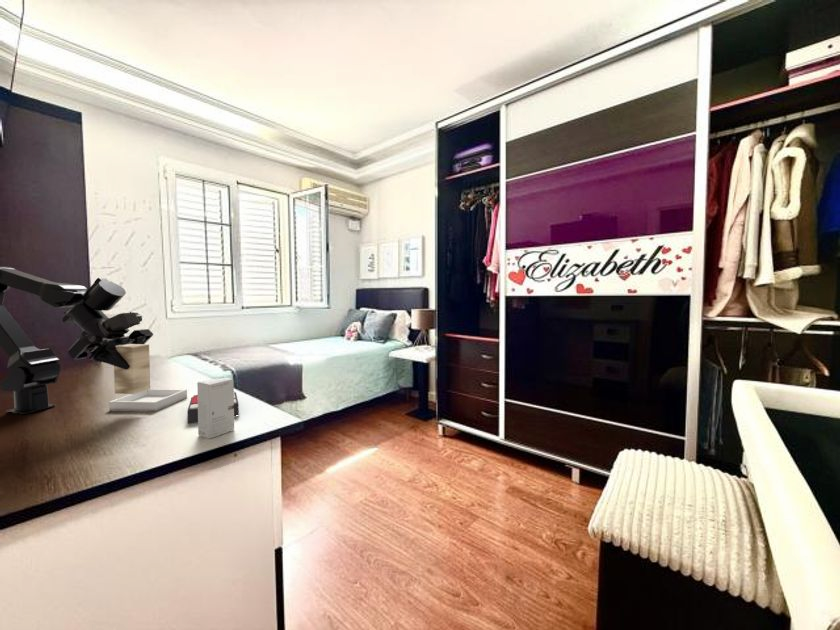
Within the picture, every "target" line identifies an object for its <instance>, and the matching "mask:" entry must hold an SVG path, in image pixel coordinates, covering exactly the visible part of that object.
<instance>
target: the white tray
mask: <svg viewBox="0 0 840 630" xmlns="http://www.w3.org/2000/svg"><path fill="white" fill-rule="evenodd" d="M187 398H188V390H187V389H183V388H182V389H181V388H180V389H179V388H178V389H175V388H173V389H172V388H171V389H169V388H150V389H148V390H145V391H142V392H139V393H136V394H126V395H125V396H121V397H119V398H116V399H113V400H110V401H108V403H109V404H108V405H109V406H108V407H109V408H108V409H109V411H110V412H147V413H148V412H150V413H151V412H152V413H153V412H155V413H156V412H157V411H158V412H159V411H160V410H163V409H164V408H167V407H169V406H171V405H174V404H176V403H179V402H181V401H182V400H185V399H187Z"/></svg>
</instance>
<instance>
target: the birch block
mask: <svg viewBox="0 0 840 630" xmlns="http://www.w3.org/2000/svg"><path fill="white" fill-rule="evenodd" d="M116 350H117V351H118V352H119V353H120V354H121V356H122V357H123V358H124V359H125V360H126V361H127V363H128V364H129V366H130V368H129V369H127V370H125V369H122V368H119V367H116V366H113V372H114V373H113V374H114V375H113V377H114V381H113V382H114V394H115V395H116V394H118V395H119V394H121V395H122V394H123V395H125V394H126V395H130V394H136V393H139V392H142V391H145V390H148V389H151V371H150V369H151V367H150V366H151V364H150V361H151V360H150V343H148V344H146V343H145V344H127V345H121V346H116Z"/></svg>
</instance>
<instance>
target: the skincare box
mask: <svg viewBox="0 0 840 630" xmlns="http://www.w3.org/2000/svg"><path fill="white" fill-rule="evenodd" d="M196 384H197V386H196V387H197V395H198V422H197V431H198V432H197V434H198V436H199V437H202V438H205V439H208V440H209V439H210V440H211V439H213V438H215V437H218V436H222V435H223V434H226V433H230V432H232V431H234V430H235V417H234V392H235V390H234V388H235V386H234V378H231V377H224V376H223V377H222V376H221V377H217V378H211V379H207V380H203V381H197V383H196ZM229 431H230V432H229Z"/></svg>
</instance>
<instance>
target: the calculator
mask: <svg viewBox="0 0 840 630" xmlns="http://www.w3.org/2000/svg"><path fill="white" fill-rule="evenodd" d="M239 404H240V403H239V400H238V395H237V392H236V391H234V416H236V415H239V412H240V411H239V410H240V409H239V408H240V407H239V406H240V405H239ZM196 423H197V424H198V394H195V395H193V396H191V398H190V401H189V405H188V408H187V424H196Z"/></svg>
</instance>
